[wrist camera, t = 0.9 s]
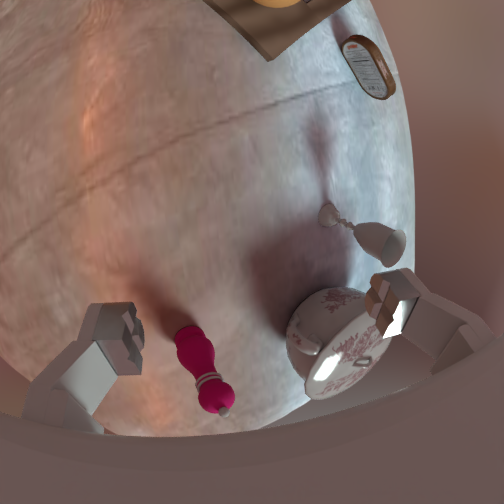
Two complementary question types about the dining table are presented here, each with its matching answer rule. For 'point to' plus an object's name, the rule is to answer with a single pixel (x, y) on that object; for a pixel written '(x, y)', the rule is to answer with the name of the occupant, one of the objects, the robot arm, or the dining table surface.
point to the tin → (369, 67)
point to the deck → (274, 21)
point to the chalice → (369, 236)
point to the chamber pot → (333, 341)
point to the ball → (277, 3)
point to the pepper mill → (204, 370)
